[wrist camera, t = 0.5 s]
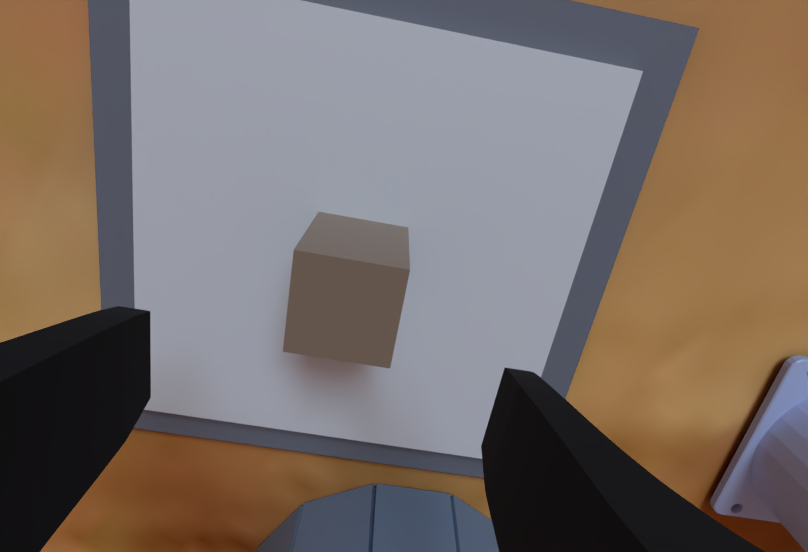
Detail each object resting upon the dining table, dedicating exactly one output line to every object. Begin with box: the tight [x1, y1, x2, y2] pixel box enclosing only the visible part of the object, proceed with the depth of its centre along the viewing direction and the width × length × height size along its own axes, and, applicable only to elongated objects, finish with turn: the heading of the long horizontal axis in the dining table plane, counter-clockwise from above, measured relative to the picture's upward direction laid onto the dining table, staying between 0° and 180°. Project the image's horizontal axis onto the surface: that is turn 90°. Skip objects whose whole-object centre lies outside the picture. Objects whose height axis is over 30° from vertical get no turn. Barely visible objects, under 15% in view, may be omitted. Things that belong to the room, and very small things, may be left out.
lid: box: [129, 0, 643, 459], centre depth 15 cm, size 15×15×5 cm
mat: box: [88, 0, 699, 478], centre depth 18 cm, size 18×18×1 cm
